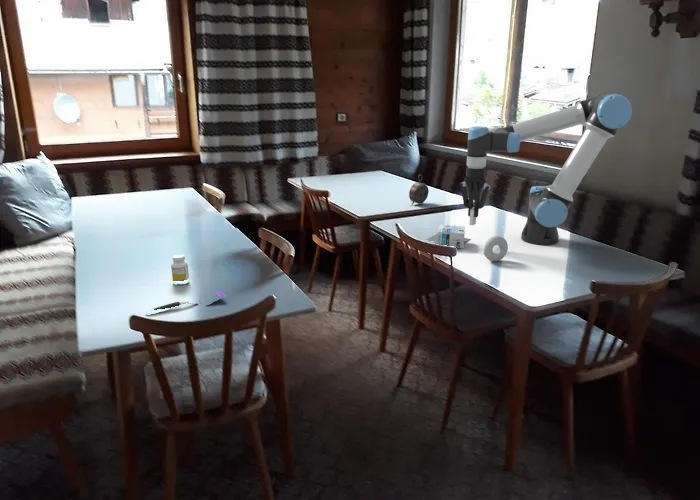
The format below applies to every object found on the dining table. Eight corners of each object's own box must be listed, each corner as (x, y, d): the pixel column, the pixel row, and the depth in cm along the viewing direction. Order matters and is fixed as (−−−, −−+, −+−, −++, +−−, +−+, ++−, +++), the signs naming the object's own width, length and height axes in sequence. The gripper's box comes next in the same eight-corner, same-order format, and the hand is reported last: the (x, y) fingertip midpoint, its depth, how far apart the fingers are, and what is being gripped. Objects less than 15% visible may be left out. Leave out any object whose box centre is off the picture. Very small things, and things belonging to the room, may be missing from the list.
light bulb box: (464, 233, 224) (437, 231, 225) (463, 249, 226) (436, 247, 228) (464, 225, 233) (438, 224, 235) (463, 241, 236) (437, 239, 238)
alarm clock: (422, 202, 302) (423, 172, 297) (429, 204, 298) (431, 174, 293) (408, 205, 295) (409, 175, 290) (415, 207, 291) (416, 176, 286)
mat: (470, 239, 238) (470, 238, 238) (453, 249, 226) (453, 248, 226) (438, 233, 247) (438, 233, 247) (421, 242, 235) (421, 241, 234)
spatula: (148, 320, 165) (147, 312, 164) (143, 311, 171) (142, 304, 170) (227, 303, 176) (226, 296, 176) (220, 296, 182) (219, 289, 181)
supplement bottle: (179, 279, 195) (176, 252, 192) (192, 281, 193) (189, 254, 190) (169, 284, 191) (166, 257, 188) (182, 286, 189) (179, 259, 186)
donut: (503, 258, 216) (505, 233, 212) (508, 261, 212) (510, 236, 209) (480, 261, 213) (482, 236, 209) (485, 264, 209) (487, 238, 206)
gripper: (495, 167, 219) (491, 224, 227) (465, 163, 226) (461, 220, 234) (487, 169, 213) (483, 229, 221) (456, 166, 221) (453, 224, 228)
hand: (472, 224), depth 227 cm, fingers closed
